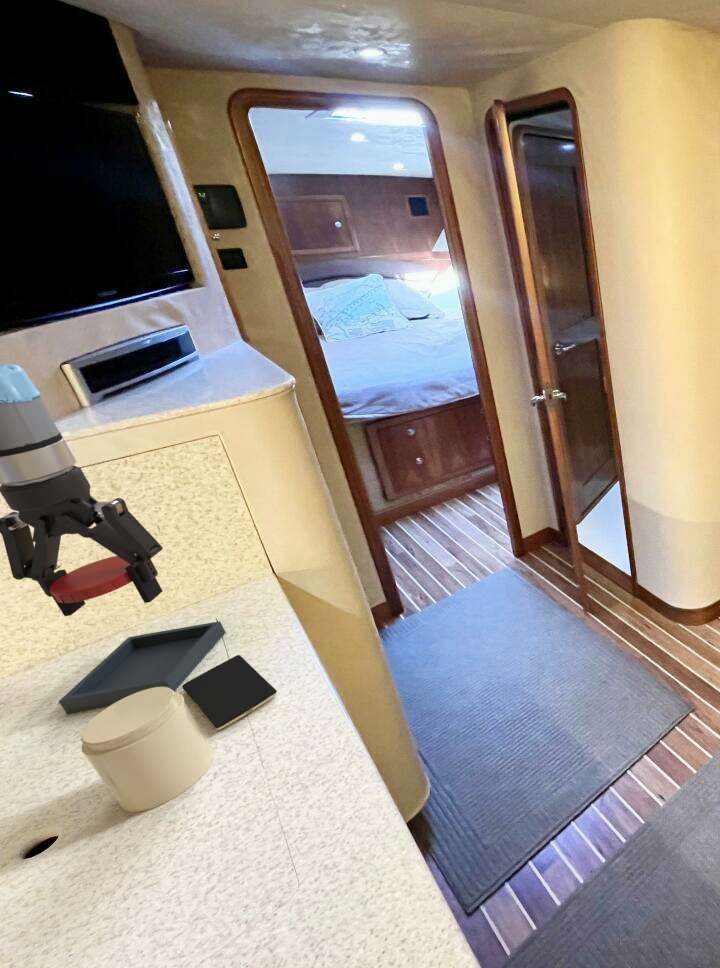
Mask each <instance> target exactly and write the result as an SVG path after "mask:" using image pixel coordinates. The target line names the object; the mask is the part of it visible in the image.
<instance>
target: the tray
mask: <svg viewBox="0 0 720 968" xmlns="http://www.w3.org/2000/svg"><path fill="white" fill-rule="evenodd" d="M226 633H227V632H226V630H225V628H224V626H223V624H222V622H221V621H219V620H218V621H213V622H207V623H201V624H196V625H191V626H190V625H189V626H184V627H183V626H182V627H178V628H173V629H172V628H171V629H166V630H160V631H155V632H148V633H144V634H138V635H132V636H128V637H127V638H126V639H125V640H123V642H121V644H120V645H118V646H117V647H116V648H115V649H114V650H113V651H111V652H110V654H108V655H107V656H106V657H105V658H104V659H102V661H101V662H99V664H97V665H96V666H95V668H93V669H92V670H91V671H89V673H88V674H86V676H84V677H83V678H82V679H81V680H80V681H78V683H77V684H76V685H74V687H73V688H72V689H70V690H69V691H68V692H67V693H66V694H65V695H64V696H62V698H61V699H59V700H58V703H59V705H60V706H61V708H62V709H63V710H64V712H65V714H67V715H69V714H75V713H79V712H84V711H91V710H94V709H101V708H104V707H105V708H107V707H109V706H111V705H112V704H114V703H116V702H117V701H119V700H121V699H123V698H125V697H127V696H129V695H132V694H134V693H137V692H140V691H142V690H146V689H150V688H155V687H168V688H170V689H172V690H173V691H174V692H176V691H177V689H178V688H179V687H180V686H181V685H182V683H183V682H184V681H185V680H186V679H187V678H188V677H189V676H190V674H191V673H192V672H193V671H194V670H195V669H196V668H197V667H198V665H199V664H200V663H201V662H202V661H203V660H204V659H205V657H206V656H207V655H208V653H209V652H210V651H211V650H212V649H213V648H214V647H215V646H216V644H217V643H218V642H219V641H220V640H221V639H222V637H223V636H224V635H225V634H226Z"/></svg>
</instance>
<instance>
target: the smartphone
mask: <svg viewBox="0 0 720 968" xmlns="http://www.w3.org/2000/svg"><path fill="white" fill-rule="evenodd" d="M182 690H183V692H184V693H185V694H186V695H187V697H188V698H189V699H190V700H191V701H192V702H193V703H194V705H195V707H197V708H198V709H199V711H200V712H201V714H202V715H203V716H204V717H205V718H206V719H207V720H208V722H209V723H210V725H212V727H213V728H214V729H215V730H216V731H219V730H222V729H224V728H226V727H227V726H229V725H231V724H233V723H235V722H236V721H238V720H240V719H242V718H243V717H245V716H247V715H248V714H250V713H252V712H253V711H254V710H256V709H258V708H259V707H261V706H263V705H264V704H265V703H267V702H268V701H270V700H271V699H273V698H274V697H275V696H277V695H278V691H277V689H276V688H275V687H274V686H273V685H272V684H270V683H269V682H268V680H266V679H265V678H264V677H263V676H262V675H261V674H260V673H259V672H258V671H257V670H256V669H255V668H254V667H253V666H252V665H251V664H250V663H249V662H247V660H245V658H244V657H242V655H240V654H237V655H234V656H233V657H231V658H229V659H227V660H225V661H223V662H221V663H220V664H218V665H216V666H214V667H212V668H209V669H208V670H207V671H205V672H203V673H201V674H199V675H197V676H196V677H194V678H192V679H190V680H188V681H187V682H185V683H183V684H182Z"/></svg>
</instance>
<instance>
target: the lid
mask: <svg viewBox="0 0 720 968" xmlns="http://www.w3.org/2000/svg"><path fill="white" fill-rule="evenodd" d="M135 556H136V554H135ZM129 565H130V564H129V563H127V562H126V561H124V560H123V559H121V558H120V557H118V556H117V555H115V556H114V555H113V556H110V557H106V558H102V559H99V560H95V561H93V562H89V563H87V564H85V565H83V566H80V567H78V568H76V569H73V570H71V571H69V572H67V574H66V575H64V576H62V577H61V578H59V579H58V580H57V581H55V582H54V583H53V584H52V585H51V587H50V592H51V594H52V596H53V597H54V599H55V600H56V602H60V603H74V602H79V601H88V600H92V599H94V598H95V599H96V598H98V597H101V596H105V595H106V594H109V593H111V592H115V591H117V590H119V589H120V588H123V587H125V586H126V585H128V584H130V583H133V582H132V580H131V578H130V576H129V575H128V573H127V571H126V569H125V568H126V567H127V566H129ZM53 597H52V598H53ZM54 599H53V600H54ZM55 600H54V601H55ZM56 602H55V603H56Z"/></svg>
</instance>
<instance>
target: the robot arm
mask: <svg viewBox="0 0 720 968" xmlns="http://www.w3.org/2000/svg"><path fill="white" fill-rule="evenodd" d="M76 463H77V460H76V457H75V456H74V454H73V453H72V451H71V449H70V447H69V445H68V444H67V442H66V440H65V438H64V437H63V435H62V433H61V432H60V430H59V428H58V427H57V425H56V423H55V421H54V419H53V418H52V415H51V413H50V412H49V410H48V408H47V406H46V404H45V401H44V400H43V398H42V393H41V392H40V390H38V389H37V387H36V385H34V383H33V381H32V380H31V379H30V377H29V375H28V374H27V372H26V371H25V370H24V369H23V368H22V367H21V366H19V365H17V364H14V363H8V362H0V495H1V496H2V498H3V499H4V500H5V503H6V504H7V506H8V507H9V509H11V510H12V511H11V512H10V513H7V514H6V515H4V516H2V517H0V535H1V537H2V540H3V544H4V548H5V552H6V556H7V559H8V563H9V567H10V570H11V575H12V577H13V578H14V579H15V580H16V581H17V580H24V579H31V580H32V581H34V582H37V584H38V585H39V587H40V588H41V590H42V591H43V592H44V594H45V595H46V596H47V597H48V598H50V597H51V598H52V599H53V600H54V602H55V604H56V605H57V607H58V608H59V610H60V611H61V613H62V615H63V616H64V617H69V616H70V617H71V616H72V615H73V614H75V613H76V612H77V611H79V610H80V609H81V608H83V607H84V606H86V604H87V603H86V602H85V601H86V600H84V601H79V602H74V603H60V602H56V600H55V599H54V597H53V596H52V594H51V592H50V587H51V585H52V584H53V583H54V582H55V581H57V580H58V579H59V578H61V577H62V576H64V575H66V574H68V572H67V570H66V569H59V568H61V565H59V564H58V558H59V553H60V546H61V540H62V536H64V535H79V536H81V537H82V538H85V539H91V540H92V541H94V542H96V543H97V544H98V545H100V546H101V547H103V548H104V549H106V550H107V551H109V552H111V553H112V554H114V555H115V556H118V557H120V558H121V559H123V560H124V561H126V562H127V563H129V564H130V565H129V566H127V567H126V568H125V569H126V571H127V573H128V575H129V576H130V578H131V580H132V582H131V583H133V585H134V587H135V589H136V590H137V592H138V594H139V596H140V598H141V599H142V601H143V603H144V604H148V603H151V602H152V601H154V599H156V598H157V597H158V596H159V595H160V594H161V593H162V592H163V588H162V587H161V585H160V583H159V581H158V580H157V576H158V575H159V573H158V570H157V567H156V566H155V564H154V563H153V561H152V558H154V557H155V556H156V555H158V554H159V553H160V552H161V551H162V550H163V548H164V547H163V546H162V544H160V543H159V542H158V540H157V539H156V538H154V537H153V535H152V533H150V532H149V530H147V529H146V528H145V526H143V524H142V523H141V522H140V521H139V520H138V519H137V518H136V517H135V516H134V515H133V514H132V513H131V512H130V511H129V509H128V506H127V503H126V501H125V499H123V498H122V497H116V498H115V499H113V500H110V501H98V500H97V499H96V498H94V497H93V496H92V495H91V484H90V482H89V480H88V479H87V477H86V475H85V473H84V471H83V469H82V468H81V466H80V467H79V466H76ZM94 524H95V525H94ZM93 525H94V526H93ZM92 526H93V527H92ZM30 527H31V528H33V533H32V531H31V528H30ZM135 554H136V556H135ZM56 570H57V571H56Z"/></svg>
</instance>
